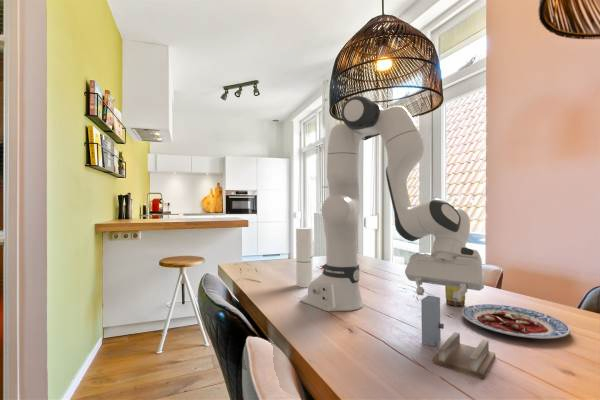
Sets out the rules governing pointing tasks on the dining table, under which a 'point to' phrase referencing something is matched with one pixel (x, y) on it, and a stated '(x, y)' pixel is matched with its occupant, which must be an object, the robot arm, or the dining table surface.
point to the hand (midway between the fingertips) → (437, 297)
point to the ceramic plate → (516, 321)
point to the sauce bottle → (449, 296)
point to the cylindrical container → (304, 256)
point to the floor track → (465, 356)
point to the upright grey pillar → (431, 320)
